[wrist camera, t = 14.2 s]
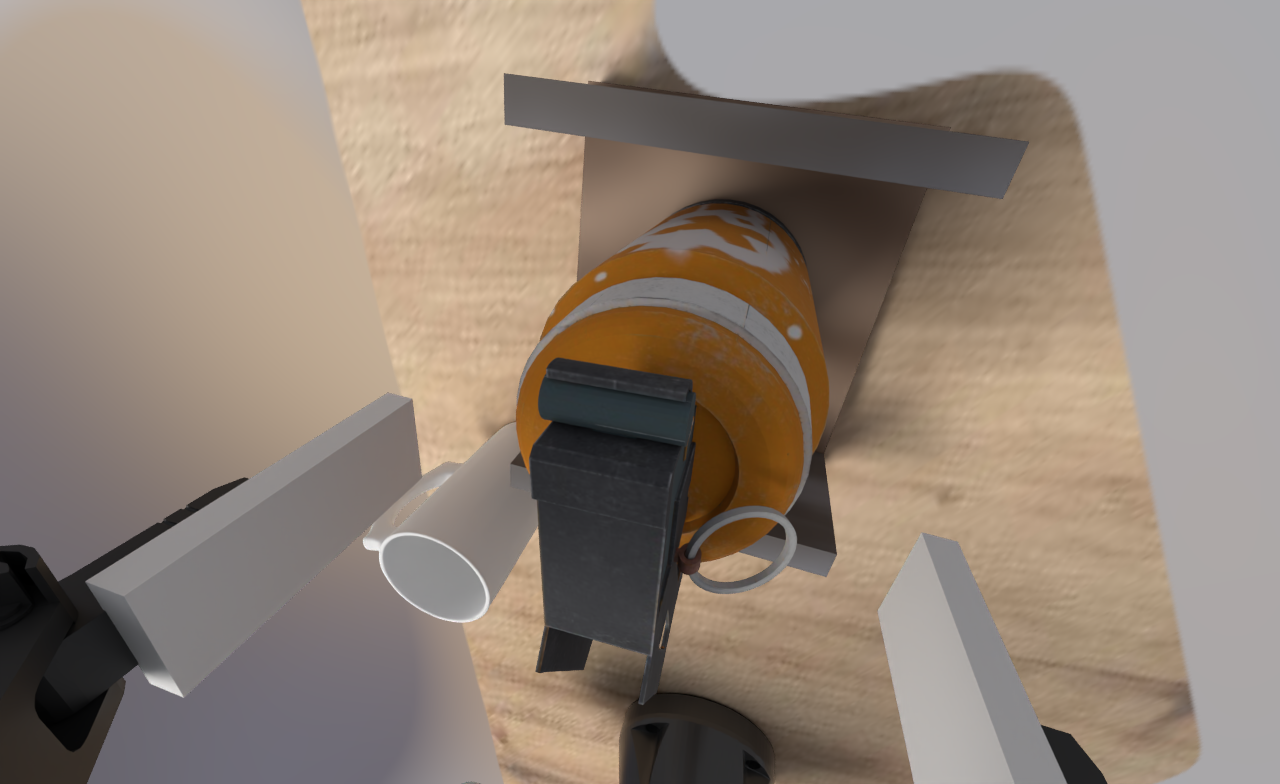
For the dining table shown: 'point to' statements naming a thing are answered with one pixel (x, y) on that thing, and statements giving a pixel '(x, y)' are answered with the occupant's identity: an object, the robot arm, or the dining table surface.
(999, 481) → the dining table surface
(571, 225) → the dining table surface
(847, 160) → the holder
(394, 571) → the mug
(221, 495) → the robot arm
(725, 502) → the canister
